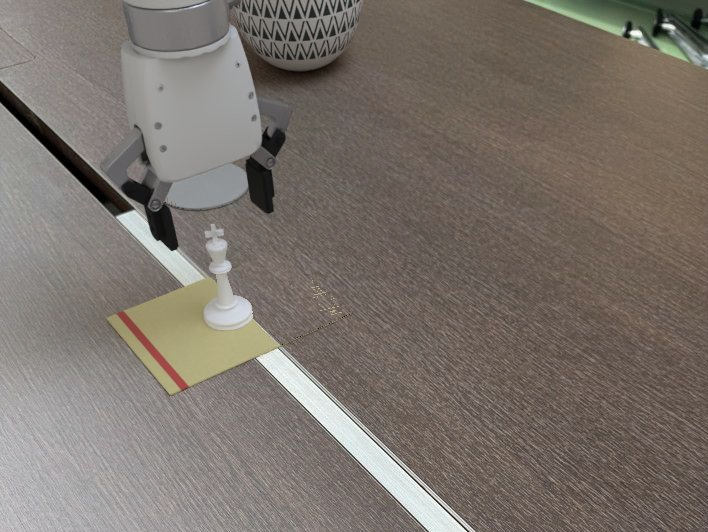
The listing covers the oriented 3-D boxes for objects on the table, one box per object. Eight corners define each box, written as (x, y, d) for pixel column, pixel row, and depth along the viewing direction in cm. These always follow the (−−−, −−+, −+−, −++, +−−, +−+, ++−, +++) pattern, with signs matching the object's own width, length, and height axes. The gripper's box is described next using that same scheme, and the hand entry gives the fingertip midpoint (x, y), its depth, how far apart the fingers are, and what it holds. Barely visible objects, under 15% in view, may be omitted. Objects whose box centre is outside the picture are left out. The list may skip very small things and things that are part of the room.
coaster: (183, 221, 95) (182, 218, 95) (140, 181, 101) (140, 178, 101) (266, 190, 99) (266, 188, 99) (221, 153, 105) (220, 151, 105)
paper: (170, 396, 76) (170, 394, 76) (106, 319, 84) (105, 317, 83) (351, 314, 84) (351, 313, 83) (277, 250, 91) (277, 249, 91)
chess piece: (256, 327, 82) (243, 236, 75) (205, 334, 82) (187, 243, 74) (250, 297, 85) (237, 207, 78) (201, 304, 85) (183, 213, 77)
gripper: (252, -22, 68) (276, 178, 81) (48, 32, 62) (110, 240, 75) (302, 5, 64) (319, 210, 77) (89, 66, 58) (147, 279, 71)
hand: (216, 224), depth 76 cm, fingers open, 9 cm apart
